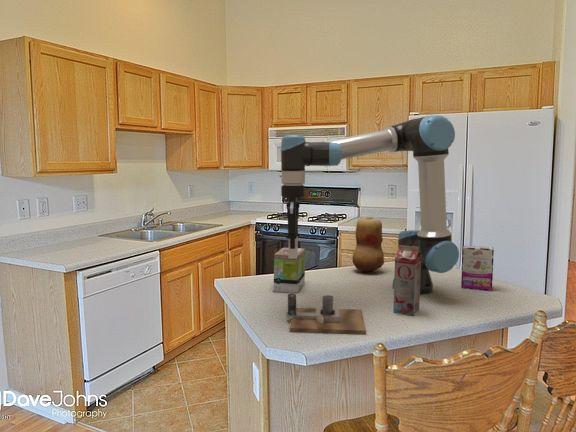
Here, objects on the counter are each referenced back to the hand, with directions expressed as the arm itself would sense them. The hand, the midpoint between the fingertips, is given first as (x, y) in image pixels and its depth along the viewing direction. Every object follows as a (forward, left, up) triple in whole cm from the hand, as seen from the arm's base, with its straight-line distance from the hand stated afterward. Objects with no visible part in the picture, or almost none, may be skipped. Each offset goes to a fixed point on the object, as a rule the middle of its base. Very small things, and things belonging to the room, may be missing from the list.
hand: (293, 257), depth 140 cm
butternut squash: (-29, -56, -19) cm, 66 cm away
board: (-11, +8, -19) cm, 23 cm away
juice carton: (-37, -4, -19) cm, 42 cm away
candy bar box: (-69, -34, -19) cm, 79 cm away
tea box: (+4, -29, -19) cm, 35 cm away
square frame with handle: (-7, +8, -17) cm, 20 cm away
